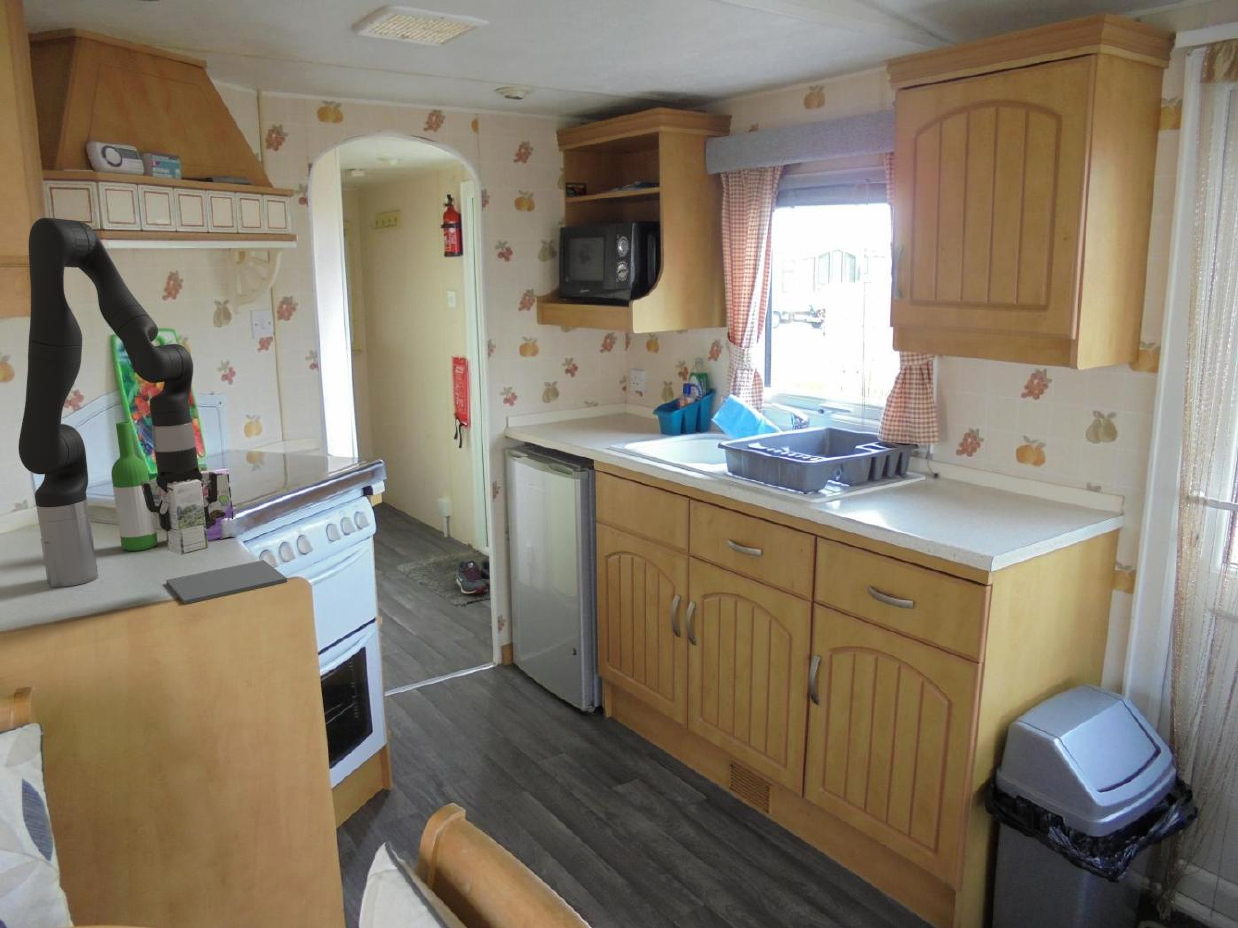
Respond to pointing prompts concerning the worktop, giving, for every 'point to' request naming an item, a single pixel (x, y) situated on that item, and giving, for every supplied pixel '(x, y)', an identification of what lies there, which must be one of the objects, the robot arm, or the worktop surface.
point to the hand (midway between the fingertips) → (185, 527)
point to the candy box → (218, 503)
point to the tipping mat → (225, 581)
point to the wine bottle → (131, 495)
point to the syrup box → (186, 517)
